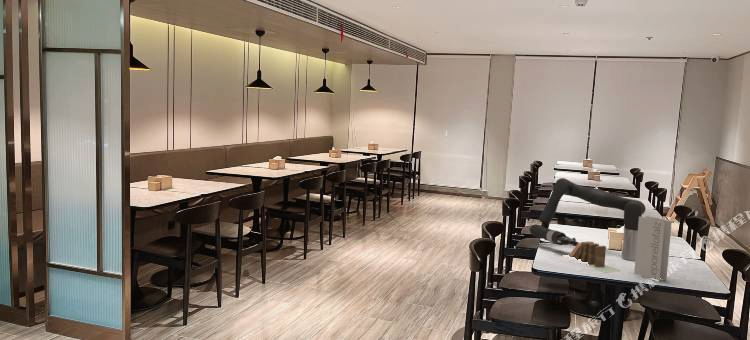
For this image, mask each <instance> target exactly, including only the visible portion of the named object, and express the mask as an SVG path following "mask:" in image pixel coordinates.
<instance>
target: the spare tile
mask: <svg viewBox="0 0 750 340" xmlns="http://www.w3.org/2000/svg"><path fill="white" fill-rule="evenodd" d="M582 242H583V241H581V242H579V241H578V244H577V245H576V246H575V247H574V248H573V249H572V250H571V251H570V253H568V254H569V256H570V257H576V254H577V252H578V250H579V248H580V245H581V243H582Z"/></svg>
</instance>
